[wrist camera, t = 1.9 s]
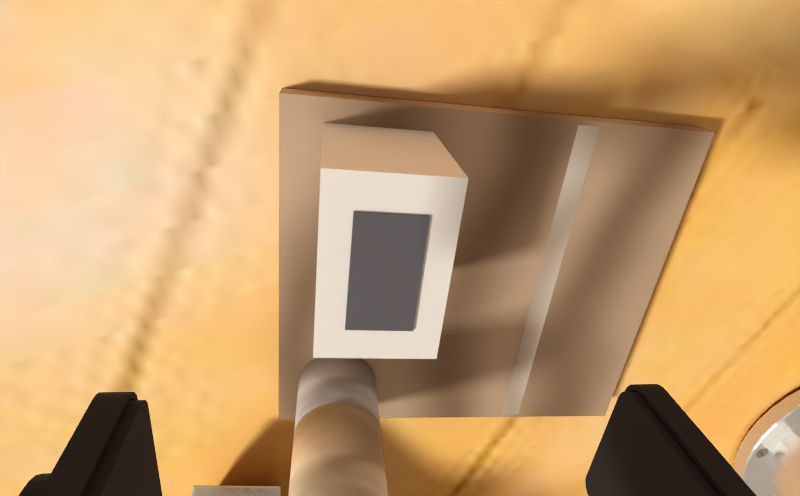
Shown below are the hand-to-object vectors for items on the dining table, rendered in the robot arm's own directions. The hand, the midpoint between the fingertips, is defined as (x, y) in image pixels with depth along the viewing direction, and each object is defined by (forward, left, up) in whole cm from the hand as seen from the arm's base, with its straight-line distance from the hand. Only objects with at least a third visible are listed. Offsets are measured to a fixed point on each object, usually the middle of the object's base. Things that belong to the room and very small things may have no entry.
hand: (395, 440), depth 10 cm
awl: (+1, +10, -13) cm, 17 cm away
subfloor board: (-6, +4, -14) cm, 16 cm away
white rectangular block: (0, 0, -13) cm, 13 cm away
